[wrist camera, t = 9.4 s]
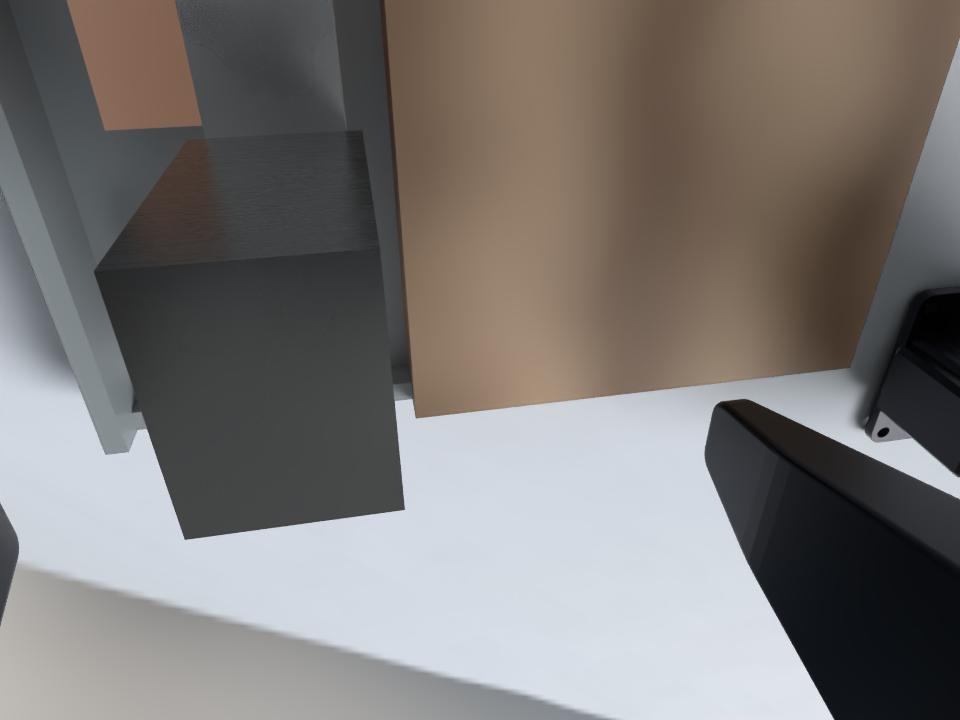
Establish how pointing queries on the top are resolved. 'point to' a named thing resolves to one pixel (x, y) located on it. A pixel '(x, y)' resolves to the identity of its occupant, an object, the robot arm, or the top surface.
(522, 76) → the board
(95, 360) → the tray
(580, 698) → the top surface
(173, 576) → the top surface
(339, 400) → the scraper
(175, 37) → the tile terracotta
